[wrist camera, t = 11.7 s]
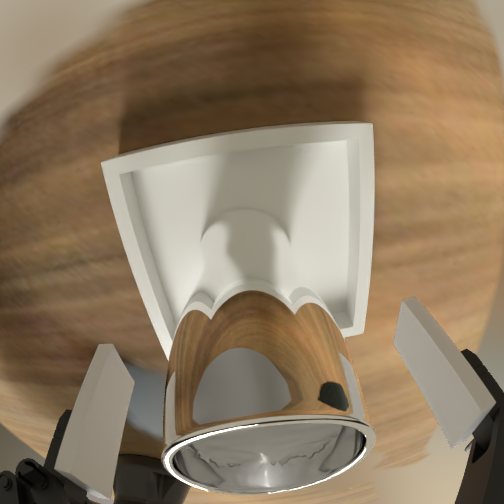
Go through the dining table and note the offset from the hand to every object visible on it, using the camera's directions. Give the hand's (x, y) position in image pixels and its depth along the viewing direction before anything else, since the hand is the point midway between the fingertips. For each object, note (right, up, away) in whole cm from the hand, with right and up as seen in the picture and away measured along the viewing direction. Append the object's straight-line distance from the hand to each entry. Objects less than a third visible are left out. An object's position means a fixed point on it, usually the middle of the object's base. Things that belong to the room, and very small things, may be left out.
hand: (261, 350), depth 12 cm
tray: (0, +5, +9) cm, 10 cm away
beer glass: (-1, +4, +8) cm, 10 cm away
